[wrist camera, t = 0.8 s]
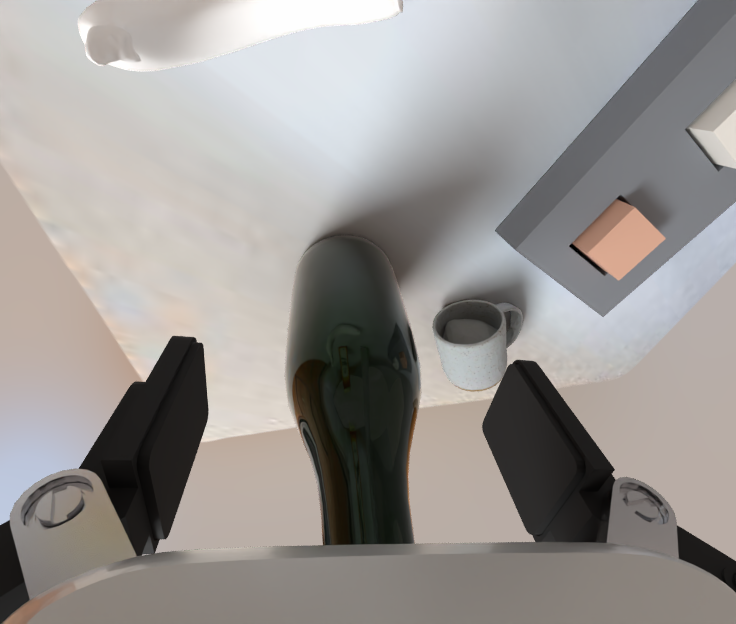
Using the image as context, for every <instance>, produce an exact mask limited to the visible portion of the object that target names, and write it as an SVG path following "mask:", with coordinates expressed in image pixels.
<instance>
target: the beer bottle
mask: <svg viewBox="0 0 736 624" xmlns="http://www.w3.org/2000/svg"><path fill="white" fill-rule="evenodd" d="M285 387H286V393H287V400H288V406H289V409H290V411H291V414H292V417H293V419H294V422H295V425H296V427H297V430H298V432H299V434H300V437H301V439H302V441H303V444H304V446H305V448H306V451H307V453H308V456H309V458H310V461H311V464H312V467H313V471H314V475H315V479H316V483H317V487H318V495H319V502H320V510H321V519H322V538H323V545H366V544H415V542H414V534H413V527H412V519H411V511H410V501H409V500H410V499H409V481H408V473H409V458H410V449H411V444H412V438H413V433H414V429H415V424H416V419H417V414H418V409H419V403H420V398H421V370H420V362H419V357H418V353H417V348H416V344H415V339H414V336H413V332H412V329H411V326H410V322H409V319H408V315H407V312H406V309H405V305H404V302H403V299H402V295H401V292H400V289H399V286H398V282H397V279H396V276H395V273H394V270H393V267H392V265H391V263H390V261H389V259H388V257H387V256H386V254H385V253H384V252H383V251H382V250H381V249H380V248H379V247H378V246H377V245H375V244H374V243H372V242H371V241H369V240H366V239H364V238H362V237H357V236H353V235H338V236H332V237H329V238H326V239H323V240H321V241H319V242H317V243H316V244H314V245H313V246H311V247H310V248H309V249H308V250H307V251H306V252H305V253H304V255H303V256H302V258H301V259H300V261H299V263H298V266H297V268H296V272H295V276H294V282H293V289H292V297H291V305H290V314H289V323H288V333H287V343H286V356H285Z"/></svg>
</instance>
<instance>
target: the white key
mask: <svg viewBox="0 0 736 624" xmlns="http://www.w3.org/2000/svg"><path fill="white" fill-rule="evenodd" d="M685 130H686V132H687V133H688V134H689V135H690V137H691V138H692V139H693V140H694V142H695V143H696V144H697V146H698V147H699V148H700V149H701V151H702V152H703V153H704V154H705V156H706V157H707V158H708V159H709V161H710V162H711V163H714V164H718V165H722V166H727V167H731V168H735V169H736V79H735V80H734V81H733V82H732V83H731V84H730V85H729V86H728V87H727V88H726V89H725V90H724V91H723V92H722V93H721V94H720V95H719V96H718V97H717V98H716V99H715V100H714V101H713V102H712V103H711V104H710V105H709V106H708V107H707V108H706V109H705V110H704V111H703V112H702V113H701V114H700V115H699V116H698V117H697V118H696V119H695V120H694V121H693V122H692V123H691V124H690V125H689V126H688V127H687V128H686V129H685Z"/></svg>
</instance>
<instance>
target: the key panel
mask: <svg viewBox="0 0 736 624" xmlns="http://www.w3.org/2000/svg"><path fill="white" fill-rule="evenodd" d="M735 79H736V0H698V1H697V2H696V4H695V5H694V6H693V7H692V8H691V9H690V10H689V11H688V13H687V14H686V15H685V16H684V17H683V18H682V19H681V20H680V22H679V23H678V24H677V25H676V26H675V27H674V28H673V30H672V31H671V32H670V33H669V34H668V35H667V36H666V37H665V39H664V40H663V41H662V42H661V43H660V44H659V45H658V47H657V48H656V49H655V50H654V51H653V52H652V53H651V54H650V56H649V57H648V58H647V59H646V60H645V61H644V62H643V64H642V65H641V66H640V67H639V68H638V69H637V70H636V71H635V73H634V74H633V75H632V76H631V77H630V78H629V79H628V80H627V82H626V83H625V84H624V85H623V86H622V87H621V88H620V90H619V91H618V92H617V93H616V94H615V95H614V96H613V97H612V99H611V100H610V101H609V102H608V103H607V104H606V105H605V107H604V108H603V109H602V110H601V111H600V112H599V113H598V114H597V116H596V117H595V118H594V119H593V120H592V121H591V122H590V123H589V125H588V126H587V127H586V128H585V129H584V130H583V131H582V133H581V134H580V135H579V136H578V137H577V138H576V139H575V140H574V142H573V143H572V144H571V145H570V146H569V147H568V148H567V150H566V151H565V152H564V153H563V154H562V155H561V156H560V157H559V159H558V160H557V161H556V162H555V163H554V164H553V165H552V167H551V168H550V169H549V170H548V171H547V172H546V173H545V174H544V176H543V177H542V178H541V179H540V180H539V181H538V182H537V183H536V185H535V186H534V187H533V188H532V189H531V190H530V191H529V193H528V194H527V195H526V196H525V197H524V198H523V199H522V200H521V202H520V203H519V204H518V205H517V206H516V207H515V208H514V210H513V211H512V212H511V213H510V214H509V215H508V216H507V217H506V219H505V220H504V221H503V222H502V223H501V224H500V225H499V226H498V228H497V229H496V230H495V231H496V232H497V233H498V234H499V235H500V236H501V237H502V238H503V239H504V240H505V241H506V242H507V243H508V244H510V245H511V246H512V247H513V248H514V249H515V250H516V251H517V252H519V253H520V254H521V255H523V256H524V257H525V258H527V259H528V260H529V261H530V262H532V263H533V264H534V265H536V266H537V267H538V268H540V269H541V270H542V271H544V272H545V273H546V274H547V275H549V276H550V277H551V278H553V279H554V280H555V281H557V282H558V283H559V284H560V285H562V286H563V287H564V288H566V289H567V290H568V291H570V292H571V293H572V294H574V295H575V296H576V297H577V298H579V299H580V300H581V301H583V302H584V303H585V304H587V305H588V306H589V307H591V308H592V309H593V310H594V311H596V312H597V313H598V314H600V315H601V316H602V317H604V316H605V315H606V314H607V313H608V312H609V311H611V310H612V309H613V308H614V307H615V306H616V305H617V304H619V303H620V302H621V301H622V300H623V299H624V298H626V297H627V296H628V295H629V294H630V293H631V292H632V291H634V290H635V289H636V288H637V287H638V286H639V285H640V284H642V283H643V282H644V281H645V280H646V279H647V278H649V277H650V276H651V275H652V274H653V273H654V272H655V271H657V270H658V269H659V268H660V267H661V266H662V265H663V264H665V263H666V262H667V261H668V260H669V259H670V258H672V257H673V256H674V255H675V254H676V253H677V252H678V251H680V250H681V249H682V248H683V247H684V246H685V245H686V244H688V243H689V242H690V241H691V240H692V239H693V238H695V237H696V236H697V235H698V234H699V233H700V232H701V231H703V230H704V229H705V228H706V227H707V226H708V225H709V224H711V223H712V222H713V221H714V220H715V219H716V218H717V217H719V216H720V215H721V214H722V213H723V212H724V211H726V210H727V209H728V208H729V207H730V206H731V205H732V204H734V203H735V202H736V169H735V168H731V167H727V166H722V165H718V164H714V163H711V162H710V161H709V159H708V158H707V157H706V156H705V154H704V153H703V152H702V151H701V149H700V148H699V147H698V146H697V144H696V143H695V142H694V140H693V139H692V138H691V137H690V135H689V134H688V133H687V132H686V130H685V129H686V128H687V127H688V126H689V125H690V124H691V123H692V122H693V121H694V120H695V119H696V118H697V117H698V116H699V115H700V114H701V113H702V112H703V111H704V110H705V109H706V108H707V107H708V106H709V105H710V104H711V103H712V102H713V101H714V100H715V99H716V98H717V97H718V96H719V95H720V94H721V93H722V92H723V91H724V90H725V89H726V88H727V87H728V86H729V85H730V84H731V83H732V82H733V81H734V80H735ZM615 199H617V200H620V201H622V202H624V203H627V204H629V205H631V206H633V207H635V208H636V209H637V210H638V211H639V212H640V213H641V214H642V215H643V216H644V217H645V218H646V219H647V220H648V221H649V222H650V223H651V224H652V225H653V226H654V227H655V228H656V229H657V230H658V231H659V232H660V233H661V234H662V235H663V236H664V237H665V238H666V239H665V240H664V241H663V242H662V243H660V244H659V245H658V246H657V247H656V248H655V249H654V250H653V251H652V252H650V253H649V254H648V255H647V256H646V257H645V258H644V259H643V260H641V261H640V262H639V263H638V264H637V265H636V266H635V267H634V268H633V269H631V270H630V271H629V272H628V273H627V274H626V275H625V276H624V277H623V278H621V279H620V280H617V279H616V278H614V277H613V276H612V275H610V274H609V273H607V272H606V271H605V270H603V269H602V268H600V267H599V266H598V265H596V264H595V263H593V262H592V261H591V260H589V259H588V258H587V257H586V256H584V255H583V254H582V253H581V252H580V253H579V254H577V253H576V252H575V251H574V250H573V249H571V248H570V247H569V245H570V244H571V243H572V242H573V241H574V240H575V239H576V238H577V237H578V236H579V235H580V234H581V233H582V232H583V231H584V230H585V229H586V228H587V227H588V226H589V225H590V224H591V223H592V222H593V221H594V220H595V219H596V218H597V217H598V216H599V215H600V214H601V213H602V212H603V211H604V210H605V209H606V208H607V207H608V206H609V205H610V204H611V203H612V202H613V201H614V200H615Z"/></svg>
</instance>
